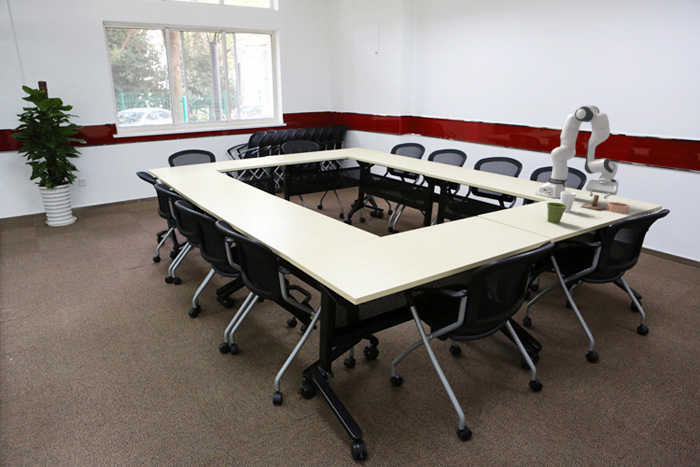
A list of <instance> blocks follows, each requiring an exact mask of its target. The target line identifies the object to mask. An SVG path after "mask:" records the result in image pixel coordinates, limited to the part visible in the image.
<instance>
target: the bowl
mask: <svg viewBox="0 0 700 467" xmlns="http://www.w3.org/2000/svg"><path fill="white" fill-rule="evenodd" d="M629 209H630V205H629V204H627V203H622V202H613V201H612V202H611V201H610V202H609V203H607V207H606V210H607V211H609V212H610V213H615V214H628V212H629Z"/></svg>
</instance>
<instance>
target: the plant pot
mask: <svg viewBox="0 0 700 467" xmlns="http://www.w3.org/2000/svg"><path fill="white" fill-rule="evenodd" d="M546 205H547V207H546V208H547V222H548V223H549V222H550V223H552V224H559V223H560V222H561V219H562V217H563V214H564V213H565V212H564V211H565V209H566V207H567V205H564V204H561V203H559V202H554V201H553V202H547V203H546Z"/></svg>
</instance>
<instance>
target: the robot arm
mask: <svg viewBox="0 0 700 467" xmlns="http://www.w3.org/2000/svg"><path fill="white" fill-rule="evenodd" d="M582 123H590V125H591V134H590V137H589V139H588V141H587V142H586V144H587V146H586V155H585V162H584V165H583V166H584V171H585V172H586V173H588V174H590V175H592V174H597V173H599V174H600V173H601V175H599V178H598V180H594V179H590V180H588V182H587V185H586V186H585V190H586V192H589V197H594V193H599V194H604V196H603V199H605V200H606V199H608V198H609V197H610V196H611V195H612V196H616V195H617V194H618V192H619V189H618V188H619V181H618V180H617V179H614V178H615V176H616V175H617V172H618V169H619V168H618V167H619V165H618V164H617V162H616V161H612V160H611V159H610V158H600V159H599V158H598V159H595V153H596V152H595V150H596V147H597V146H598V145H600V144H601V143H603V142H605V141H606V140H607V139H608V138H609V137H610V135H611V134H610V133H611V131H610V130H611V129H610V121H609V117H608V115H607V114H606V113H604V112H600V109H599V108H598V107H597V106H595V105H583V106H580V107H578V108H577V109H576V110H575V112H572V113H569V114H568V115H567V117H566V118H565V122H564V124H563V127H562V130H561V133H560V137H559V138H560V146H557V147H555V148H554V149H552V151H551V152H550V157H551V159H552V160H551V161H552V172H551V176H550V177H549V178H548V179H547V182H545V183H543V184H541V185H540V186H539V188H538V189H537V190H536V191H535V192H534V194H535V195H539V196H543V197H546V198H551V199H561V192H562V191H566V187H567V183H568V174H569V167H568V161H569V160H571V159H573V158H574V157H575V156H576V153H577V152H576V151H577V150H576V142H577V138H578V134H579V131H580V127H581V125H582Z"/></svg>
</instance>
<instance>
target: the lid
mask: <svg viewBox="0 0 700 467" xmlns="http://www.w3.org/2000/svg"><path fill="white" fill-rule="evenodd" d="M599 197H600V195H599V194H593V198H592V203H583V205H582V206H583V207H585V208H584V209H586V208H587V210H591V209H592V211H596V210H602V211H605V210H606V209H605V208H606V206H604V205H601V204H598V203H599V199H600V198H599Z"/></svg>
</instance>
